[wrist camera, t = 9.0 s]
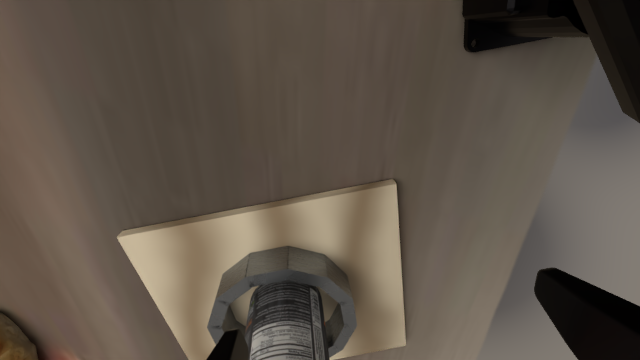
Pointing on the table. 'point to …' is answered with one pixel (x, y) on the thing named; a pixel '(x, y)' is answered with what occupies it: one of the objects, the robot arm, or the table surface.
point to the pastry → (14, 342)
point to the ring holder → (280, 266)
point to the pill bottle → (286, 323)
